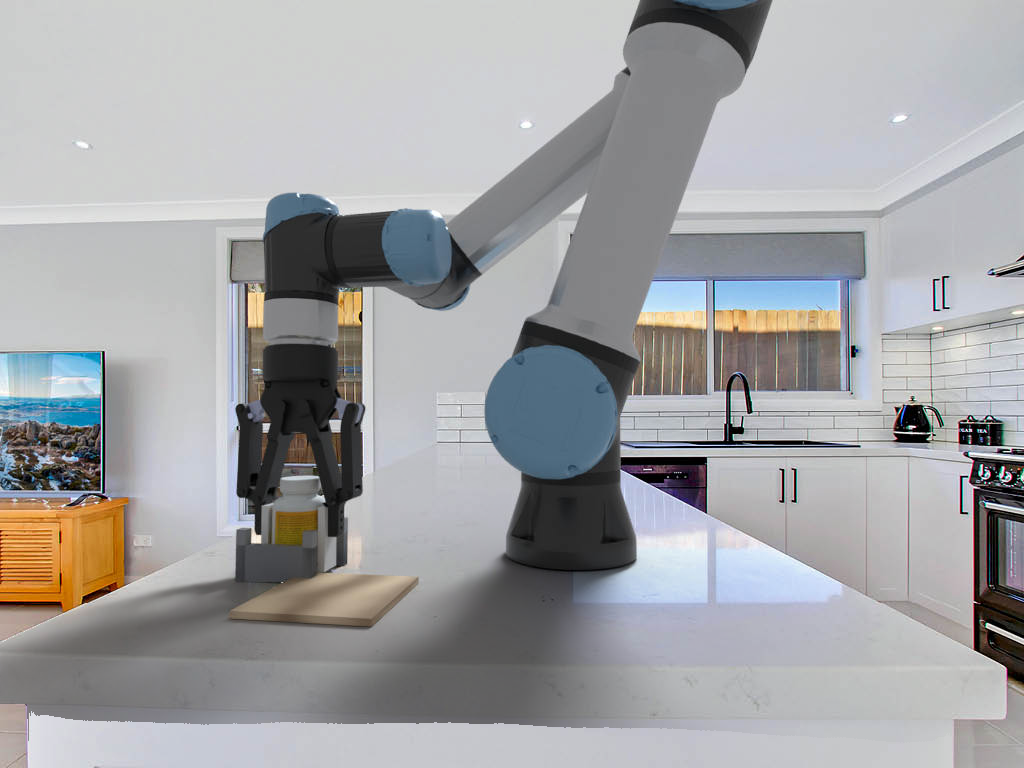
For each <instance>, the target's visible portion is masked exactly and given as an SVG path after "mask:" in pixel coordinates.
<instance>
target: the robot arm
mask: <svg viewBox="0 0 1024 768" xmlns="http://www.w3.org/2000/svg"><path fill="white" fill-rule="evenodd" d="M772 3H773V0H639V2H638V5H637V8H636V10H635V13H634V16H633V19H632V22H631V25H630V28H629V30H628V33H627V36H626V38H625V41H624V44H623V46H622V47H623V49H622V57H623V60H624V62H625V65H626V67H624V68H623V69H622V70H620V71H619V72H618V73H617V74H616V75H615V76H614V82H613V87H612V89H611V90H610V91H609V92H608V93H607V94H605V95H604V96H603V97H602V98H601V99H599V100H598V101H597V102H596V103H594V104H593V105H592V106H591V107H589V108H588V109H587V110H586V111H584V112H583V113H582V114H580V115H579V116H578V117H577V118H575V120H573V121H572V122H571V123H570V124H568V125H567V126H566V127H564V128H563V129H562V130H561V131H559V132H558V133H557V134H556V135H555V136H553V137H552V138H551V139H550V140H549V141H547V142H546V143H545V144H543V145H542V146H541V147H540V148H538V149H537V150H536V151H535V152H533V153H532V154H531V155H530V156H529V157H528V158H526V159H525V160H523V162H521V163H520V164H518V165H517V166H516V167H515V168H514V169H513V170H511V171H510V172H508V174H506V175H505V176H504V177H503V178H501V179H500V180H499V181H497V182H496V183H495V184H494V185H493V186H492V187H490V188H489V189H488V190H487V191H486V192H484V193H483V194H481V195H480V196H479V197H478V198H476V200H474V201H472V202H471V203H470V204H469V205H468V206H466V207H465V208H464V209H462V211H460V212H459V213H458V214H456V215H455V216H454V217H453V218H452V219H450V220H449V221H448V222H447V223H446V221H445V218H444V216H442V214H440V213H439V212H438V211H436V210H433V209H413V208H407V207H406V208H400V209H399V208H398V209H397V210H389V211H387V210H386V211H377V212H364V213H352V214H340V211H339V207H338V206H337V204H336V203H335V202H334V201H333V200H331V199H330V198H327V197H324V196H322V195H317V194H314V193H300V192H284V193H280V194H277V195H275V196H274V197H273V198H271V199H270V200H268V203H267V206H266V207H265V208H266V209H265V223H264V232H263V235H262V244H263V254H264V255H263V256H264V258H263V259H264V294H263V295H264V296H263V311H262V312H263V313H262V315H263V318H262V320H263V321H262V339H263V340H264V341H266V342H267V343H268V345H265V347H264V348H263V349H262V379H263V380H262V381H263V383H264V389H263V391H262V393H261V395H260V396H259V397H260V398H259V399H258V400H254V401H252V402H249V403H238V404H237V405H235V409H234V410H235V414H236V419H237V421H238V425H239V429H238V430H239V431H238V433H239V434H238V435H239V436H238V450H237V451H238V452H237V453H238V454H237V456H238V457H237V473H236V475H237V476H236V496H237V497H238V498H240V499H246V500H249V501H250V502H252V503H253V505H254V525H253V526H254V533H255V535H256V536H260V537H261V538H260V544H271V542H272V508H273V503H274V502H275V500H277V499H278V498H280V496H279V495H277V493H278V489H279V487H280V479H281V478H282V474H283V472H284V467H285V464H286V460H287V456H288V453H289V449H290V446H291V443H292V442H293V440H294V439H295V436H296V434H298V433H299V434H305V436H306V441H307V442H308V443H309V444H310V446H311V450H312V454H313V455H312V456H313V459H314V463H315V466H316V470H317V473H318V475H317V476H319V478H320V482H321V489H322V493H323V498H324V499H325V502H324V503H322V504H323V506H320V507H318V567H317V572H320V573H326V572H327V571H329V570H331V569H333V568H334V567H336V566H337V565H336V537H338V536H340V535H342V534H343V532H344V517H345V505H346V504H347V502H348V501H351V500H353V499H356V498H358V497H360V496H362V495H363V491H364V490H363V485H364V484H363V459H362V456H363V455H362V422H363V419H364V416H365V412H366V409H367V408H366V405H365V404H364V403H362V402H352V401H349V400H346V399H342V396H341V393H340V392H339V389H338V380H339V351H338V350H337V348H335V347H333V344H335V343H337V342H338V341H339V298H340V289H342V288H344V289H355V288H385V289H386V288H387V289H388V290H390V291H393V292H394V293H396V294H398V295H401V296H402V297H405V298H408V299H409V300H411V301H412V302H414V303H415V304H417V305H418V306H420V307H422V308H425V309H428V310H434V311H439V312H445V311H450V310H452V309H455V308H457V307H458V306H460V305H461V304H462V303H463V302H464V301H465V299H466V298H467V296H468V294H469V291H470V289H471V284H473V283H474V282H475V281H477V279H479V278H480V277H482V276H483V275H484V274H485V273H487V272H488V271H489V270H490V269H491V268H492V267H494V266H496V265H497V264H498V263H499V262H501V261H502V260H503V259H505V258H506V257H507V256H508V255H509V254H511V253H512V252H513V251H515V250H516V249H517V248H519V247H520V246H521V245H523V244H524V243H525V242H527V240H529V239H530V238H531V237H533V236H534V235H535V234H536V233H538V232H539V231H541V230H542V229H543V228H545V227H546V226H547V225H548V224H550V223H551V222H552V221H553V220H555V219H556V218H557V217H559V216H560V215H561V214H563V213H564V212H565V211H566V210H567V209H569V208H570V207H571V206H573V205H574V204H575V203H577V202H578V201H579V200H580V199H581V198H583V197H584V196H585V195H586V197H585V199H584V201H583V204H582V208H581V210H580V213H579V216H578V219H577V220H576V221H577V222H576V224H575V227H574V230H573V233H572V234H571V239H570V241H569V243H568V247H567V249H566V251H565V255H564V258H563V260H562V263H561V266H560V269H559V272H558V273H557V274H558V275H557V277H556V280H555V282H554V286H553V288H552V291H551V294H550V296H549V300H548V302H547V305H546V306H545V307H543V308H542V310H540V311H537V312H535V313H533V314H531V315H529V316H527V317H525V320H524V321H523V323H522V327H521V330H520V333H519V335H518V338H517V341H516V343H515V346H514V349H513V352H512V355H511V357H510V358H509V359H507V360H506V361H505V362H504V363H503V365H502V366H501V367H500V368H499V369H498V371H496V373H495V374H494V376H493V378H492V380H491V382H490V383H489V386H488V389H487V392H486V395H485V400H484V408H483V409H484V423H485V427H486V431H487V434H488V436H489V439H490V442H491V443H492V445H493V447H494V449H495V450H496V451H497V453H498V454H499V455H500V457H501V458H503V460H504V461H505V462H507V464H509V465H510V466H511V467H513V468H514V469H516V470H517V471H519V472H520V490H519V493H518V496H517V498H516V499H517V500H516V503H515V506H514V509H513V513H512V514H511V518H510V521H509V524H508V527H507V530H506V536H505V554H506V556H507V557H508V558H509V559H510V560H512V561H514V562H517V563H520V564H523V565H527V566H531V567H537V568H543V569H552V570H568V571H569V570H570V571H572V570H573V571H584V570H585V571H591V570H602V569H603V570H604V569H612V568H617V567H621V566H624V565H628V564H630V563H633V562H634V561H635V560H636V559H637V557H638V556H637V555H638V552H637V550H638V549H637V547H638V546H637V545H638V544H637V543H638V542H637V536H636V535H637V534H636V532H635V530H634V526H633V523H632V520H631V516H630V513H629V511H628V507H627V504H626V501H625V498H624V495H623V493H622V487H621V486H622V484H621V483H622V481H621V477H622V476H621V475H622V474H621V467H622V465H621V463H622V461H621V456H622V455H621V415H622V412H623V410H624V407H625V404H626V402H627V399H628V396H629V393H630V390H631V387H632V384H633V383H634V380H635V377H636V374H637V371H638V369H639V365H640V363H641V360H642V358H641V356H640V353H639V351H638V349H637V347H636V345H635V343H634V339H633V335H634V331H635V329H636V326H637V324H638V322H639V321H638V320H639V318H640V316H641V313H642V310H643V308H644V306H645V302H646V299H647V296H648V295H649V294H648V293H649V291H650V289H651V285H652V282H653V280H654V277H655V274H656V273H657V269H658V266H659V263H660V261H661V258H662V255H663V252H664V250H665V247H666V244H667V242H668V239H669V237H670V234H671V231H672V228H673V225H674V223H675V220H676V216H677V215H678V213H679V212H678V211H679V209H680V206H681V205H682V204H681V203H682V201H683V198H684V195H685V192H686V189H687V187H688V185H689V184H688V183H689V181H690V179H691V175H692V173H693V170H694V168H695V166H696V162H697V159H698V157H699V154H700V152H701V148H702V146H703V143H704V140H705V138H706V136H707V132H708V129H709V127H710V125H711V121H712V119H713V115H714V113H715V110H716V108H717V105H718V103H719V102H720V101H721V100H722V99H724V98H727V97H729V96H731V95H732V94H734V93H735V92H736V91H738V90H739V88H741V86H742V84H743V81H744V79H745V77H746V73H747V72H748V69H749V67H750V65H751V63H752V62H753V59H754V57H755V53H756V51H757V49H758V45H759V42H760V39H761V37H762V34H763V30H764V27H765V24H766V22H767V19H768V15H769V13H770V10H771V6H772ZM336 411H337V412H338V415H337V416H338V419H339V420H340V428H339V429H340V432H339V433H340V434H339V435H340V462H341V463H340V467H339V463H338V459H337V456H336V451H335V448H334V447H335V446H334V444H333V438H334V437H333V436H334V435H333V431H332V428H331V424H330V421H331V419H332V418H333V416H334V415H335V413H336ZM265 413H266V414H265ZM266 415H267V417H268V418H269V420H270V423H269V428H268V431H267V435H266V438H267V439H266V440H267V444H266V448H265V452H264V455H263V453H262V452H263V439H264V438H263V435H264V423H263V420H264V419H265V416H266ZM262 455H263V458H262ZM340 468H341V470H340Z"/></svg>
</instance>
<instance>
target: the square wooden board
mask: <svg viewBox="0 0 1024 768" xmlns="http://www.w3.org/2000/svg"><path fill="white" fill-rule="evenodd" d="M419 578H420V577H419V576H410V575H409V576H406V575H385V574H384V575H383V574H363V573H362V574H361V573H360V574H359V573H340V572H339V573H338V572H317V576H315V577H313V578H294V577H292V578H290V579H288V580H287V581H285V582H283V583H278V584H277V585H276V586H274V587H272V588H270V589H268V590H266V591H264V592H263V593H260V594H258V595H257V596H255V597H253V598H251V599H249V600H247V601H245V602H244V603H242V604H239V605H238V606H236V607H234V608H232V609H231V610H229V619H233V620H234V619H235V620H249V621H250V620H251V621H267V622H283V623H286V622H287V623H288V622H289V623H301V624H302V623H303V624H321V625H336V626H337V625H339V626H352V627H353V626H354V627H355V626H357V627H369V628H370V627H373V626H374V625H375V624H376V623H378V621H380V619H382V617H384V616H385V615H386V614H387V613H388V612H389V611H390V610H392V608H393V607H394V606H396V605H397V604H398V603H399V602H400V601H401V600H402V599H403V598H404V597H405V596H407V594H409V593H410V591H411V590H413V589H414V588H415V587H416V586H417V585H418V584H419V582H420V581H419Z"/></svg>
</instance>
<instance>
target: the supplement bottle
mask: <svg viewBox="0 0 1024 768" xmlns="http://www.w3.org/2000/svg"><path fill="white" fill-rule="evenodd" d="M321 489H322V486H321V482H320V478H319V475H292V476H284V477H281V479H280V482H279V490H280V491H279V492H280V493H282V496H279V497H278V499H277V500H274V501H273V508H272V542H271V544H287V545H303V532H304V531H306V530H317V567H318V507H320V506H323V504H322V503H324V502H325V498H324V496H321V495H320V494H318V493H319V492H320V490H321Z"/></svg>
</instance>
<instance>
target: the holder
mask: <svg viewBox="0 0 1024 768" xmlns="http://www.w3.org/2000/svg"><path fill="white" fill-rule="evenodd" d="M252 531H253V530H252V527H240V528H238V529H236V530H235V532H236V533H235V574H234V576H235V580H234V581H235V582H248V583H249V582H250V583H251V582H252V583H267V582H285V581H287V580H288V579H290V578H292V577H294V578H313V577H315V576H317V530H306V531H304V532H303V545H287V544H261V542H260V543H257V542H256V543H255V542H252ZM348 537H349V517H347V516H344V532H343V534H342V535H340V536H338V537H336V566H339V567H340V566H341V567H344V566H346V565H348V553H349V551H348V548H349V547H348V543H349V541H348Z"/></svg>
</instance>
